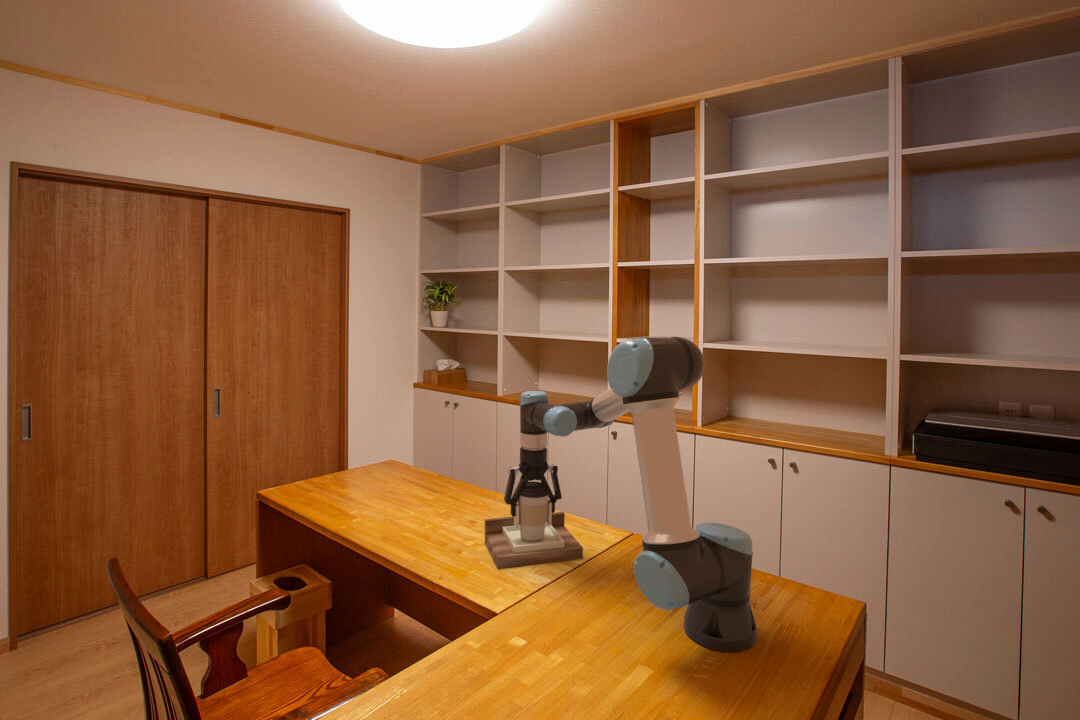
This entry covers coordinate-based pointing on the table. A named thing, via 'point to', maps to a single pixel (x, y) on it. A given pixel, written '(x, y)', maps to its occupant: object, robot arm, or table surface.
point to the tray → (522, 545)
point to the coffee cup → (533, 510)
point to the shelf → (508, 558)
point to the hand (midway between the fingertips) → (532, 525)
